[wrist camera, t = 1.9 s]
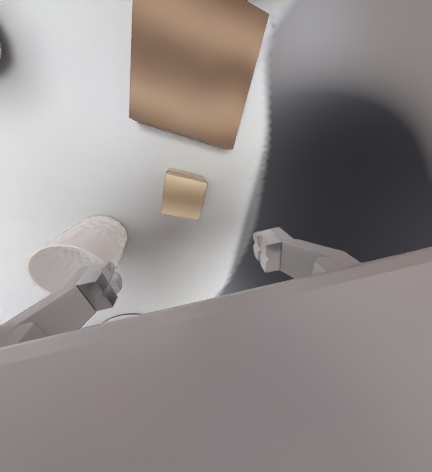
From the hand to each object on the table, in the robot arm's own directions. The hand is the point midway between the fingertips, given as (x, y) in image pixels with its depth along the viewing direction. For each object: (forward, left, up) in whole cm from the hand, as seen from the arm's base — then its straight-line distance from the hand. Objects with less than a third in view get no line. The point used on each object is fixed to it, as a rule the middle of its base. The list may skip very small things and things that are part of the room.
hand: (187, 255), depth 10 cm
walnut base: (+13, +1, -19) cm, 23 cm away
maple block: (0, 0, -19) cm, 19 cm away
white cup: (-10, +11, -19) cm, 24 cm away
